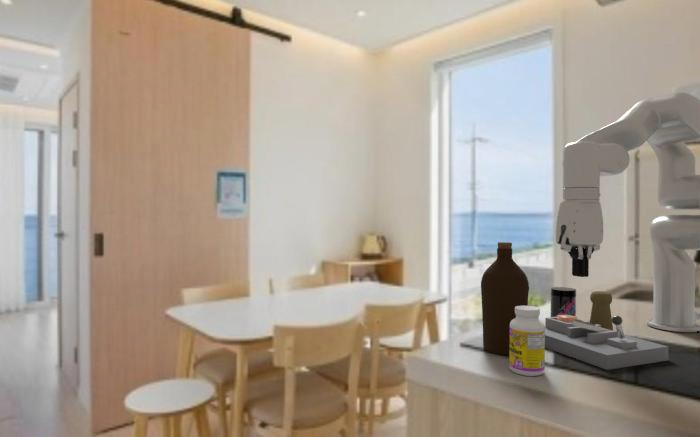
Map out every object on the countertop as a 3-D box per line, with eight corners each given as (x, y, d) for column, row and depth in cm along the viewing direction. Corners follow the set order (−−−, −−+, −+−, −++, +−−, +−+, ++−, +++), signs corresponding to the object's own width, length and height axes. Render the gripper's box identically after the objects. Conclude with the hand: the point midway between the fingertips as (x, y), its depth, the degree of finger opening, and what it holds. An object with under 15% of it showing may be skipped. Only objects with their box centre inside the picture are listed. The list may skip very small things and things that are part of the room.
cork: (617, 335, 121) (617, 293, 121) (592, 334, 122) (592, 293, 122) (609, 330, 127) (609, 290, 127) (585, 329, 128) (585, 289, 128)
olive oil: (503, 358, 101) (504, 244, 101) (471, 346, 111) (471, 241, 111) (538, 352, 106) (539, 243, 106) (504, 341, 115) (505, 240, 115)
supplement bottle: (503, 366, 96) (504, 304, 96) (534, 365, 97) (534, 304, 97) (518, 377, 89) (518, 311, 89) (551, 376, 90) (551, 310, 90)
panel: (578, 333, 123) (578, 313, 123) (668, 360, 100) (668, 335, 100) (523, 340, 116) (523, 318, 116) (607, 369, 94) (607, 342, 94)
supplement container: (549, 326, 131) (549, 289, 131) (550, 321, 137) (550, 286, 137) (576, 329, 128) (576, 291, 128) (576, 323, 134) (576, 288, 134)
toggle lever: (620, 334, 102) (615, 313, 101) (628, 336, 100) (623, 315, 100) (614, 338, 101) (608, 317, 101) (622, 340, 100) (616, 319, 99)
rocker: (600, 331, 111) (601, 326, 111) (615, 335, 107) (616, 330, 107) (572, 324, 108) (574, 319, 108) (587, 328, 104) (588, 323, 104)
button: (566, 326, 118) (566, 314, 118) (581, 330, 114) (581, 317, 114) (553, 327, 116) (553, 315, 116) (567, 331, 112) (567, 319, 112)
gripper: (592, 197, 113) (591, 273, 113) (543, 196, 107) (542, 275, 107) (619, 196, 106) (618, 277, 106) (568, 194, 100) (567, 279, 100)
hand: (580, 276), depth 107 cm, fingers closed
